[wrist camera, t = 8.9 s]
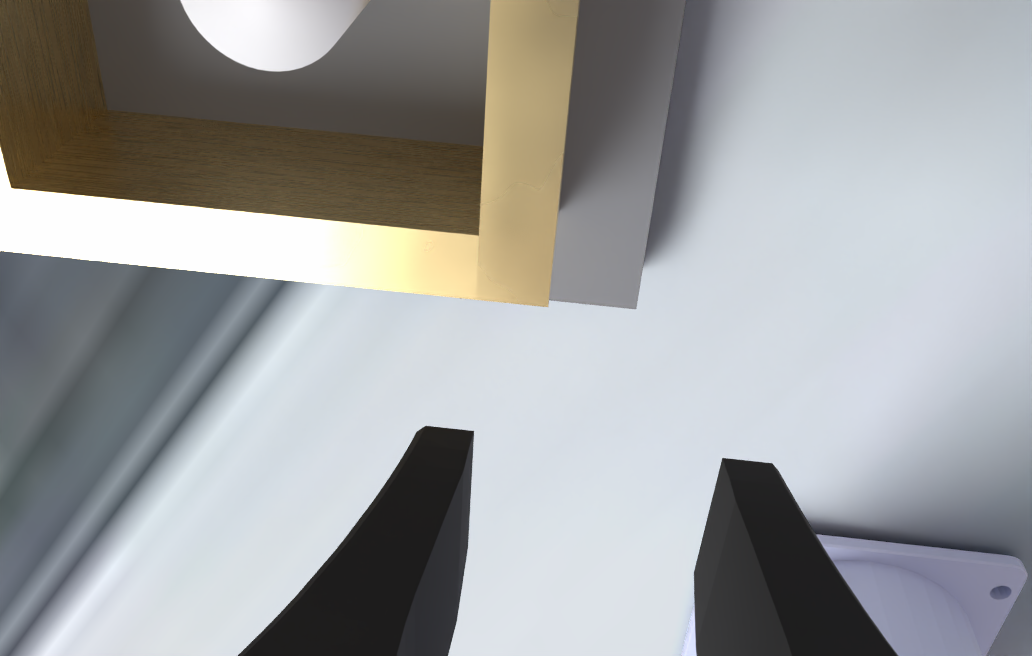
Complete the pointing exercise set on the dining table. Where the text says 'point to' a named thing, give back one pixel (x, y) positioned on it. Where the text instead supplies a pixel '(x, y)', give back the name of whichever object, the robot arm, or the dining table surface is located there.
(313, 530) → the dining table surface
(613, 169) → the grey piece
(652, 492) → the dining table surface
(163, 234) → the gold square frame
